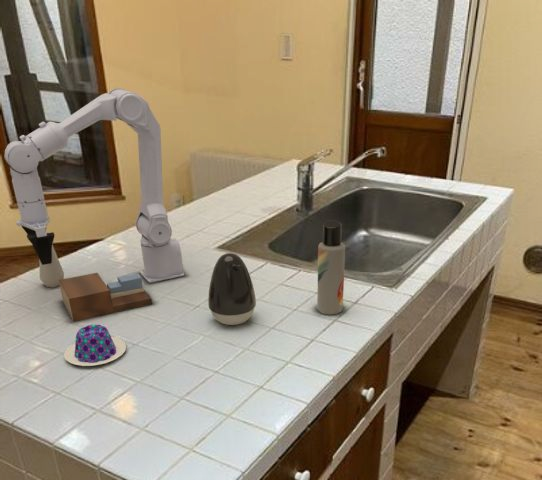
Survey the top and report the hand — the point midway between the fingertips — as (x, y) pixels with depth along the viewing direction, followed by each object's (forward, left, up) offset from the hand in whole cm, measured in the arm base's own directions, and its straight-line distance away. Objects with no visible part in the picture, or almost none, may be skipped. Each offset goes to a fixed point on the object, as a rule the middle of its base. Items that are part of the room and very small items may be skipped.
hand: (43, 258), depth 140 cm
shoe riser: (-11, +9, -10) cm, 17 cm away
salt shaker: (-2, -9, -10) cm, 14 cm away
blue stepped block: (-15, +9, -8) cm, 20 cm away
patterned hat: (-3, +32, -10) cm, 34 cm away
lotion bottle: (-54, +38, -10) cm, 67 cm away
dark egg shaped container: (-33, +32, -10) cm, 47 cm away
